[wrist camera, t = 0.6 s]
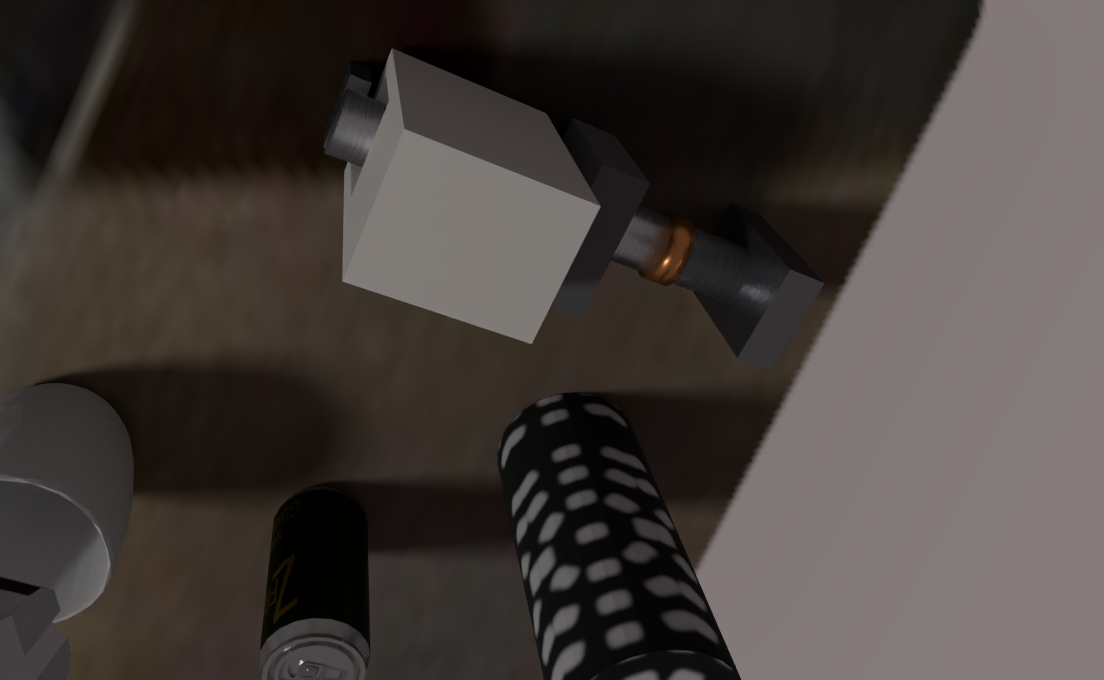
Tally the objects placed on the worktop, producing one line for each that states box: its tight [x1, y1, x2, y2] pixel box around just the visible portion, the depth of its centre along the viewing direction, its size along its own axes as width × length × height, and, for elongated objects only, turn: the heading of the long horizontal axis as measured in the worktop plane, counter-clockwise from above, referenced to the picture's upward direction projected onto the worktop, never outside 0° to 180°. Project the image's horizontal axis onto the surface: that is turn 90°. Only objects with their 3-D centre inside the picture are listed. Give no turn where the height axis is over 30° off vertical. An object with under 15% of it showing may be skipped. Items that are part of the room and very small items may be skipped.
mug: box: [0, 383, 134, 623], centre depth 50 cm, size 13×9×10 cm
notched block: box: [343, 49, 601, 344], centre depth 44 cm, size 8×6×12 cm
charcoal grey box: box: [551, 118, 650, 316], centre depth 48 cm, size 2×7×7 cm, turn 155°
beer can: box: [259, 486, 370, 680], centre depth 54 cm, size 5×5×12 cm
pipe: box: [323, 61, 825, 370], centre depth 48 cm, size 23×5×8 cm, turn 64°
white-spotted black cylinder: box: [498, 393, 741, 680], centre depth 52 cm, size 8×8×20 cm
